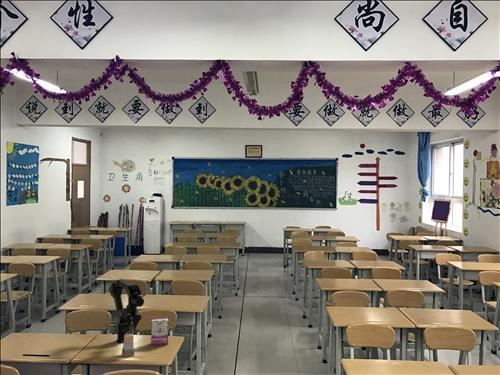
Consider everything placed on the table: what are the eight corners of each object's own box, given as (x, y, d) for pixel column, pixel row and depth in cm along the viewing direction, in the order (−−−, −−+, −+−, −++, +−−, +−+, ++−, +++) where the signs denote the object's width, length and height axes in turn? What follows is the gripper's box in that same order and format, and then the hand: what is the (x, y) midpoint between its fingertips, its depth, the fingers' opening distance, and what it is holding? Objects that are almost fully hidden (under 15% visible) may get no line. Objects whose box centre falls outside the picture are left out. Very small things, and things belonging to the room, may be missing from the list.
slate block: (123, 348, 275) (123, 341, 275) (131, 346, 278) (131, 340, 278) (125, 350, 271) (125, 344, 271) (133, 349, 274) (133, 343, 274)
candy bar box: (167, 342, 299) (168, 318, 299) (168, 344, 294) (168, 320, 294) (151, 343, 297) (151, 318, 297) (150, 345, 292) (151, 321, 292)
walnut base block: (121, 354, 275) (122, 348, 275) (131, 352, 279) (131, 346, 279) (124, 357, 270) (125, 351, 270) (134, 355, 274) (134, 349, 274)
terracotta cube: (123, 341, 275) (124, 334, 275) (130, 340, 278) (131, 333, 278) (126, 344, 272) (126, 336, 272) (133, 342, 274) (133, 335, 274)
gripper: (115, 301, 291) (115, 325, 291) (125, 308, 276) (124, 333, 276) (132, 299, 298) (131, 322, 298) (142, 306, 282) (141, 330, 282)
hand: (131, 327), depth 288 cm, fingers open, 9 cm apart
